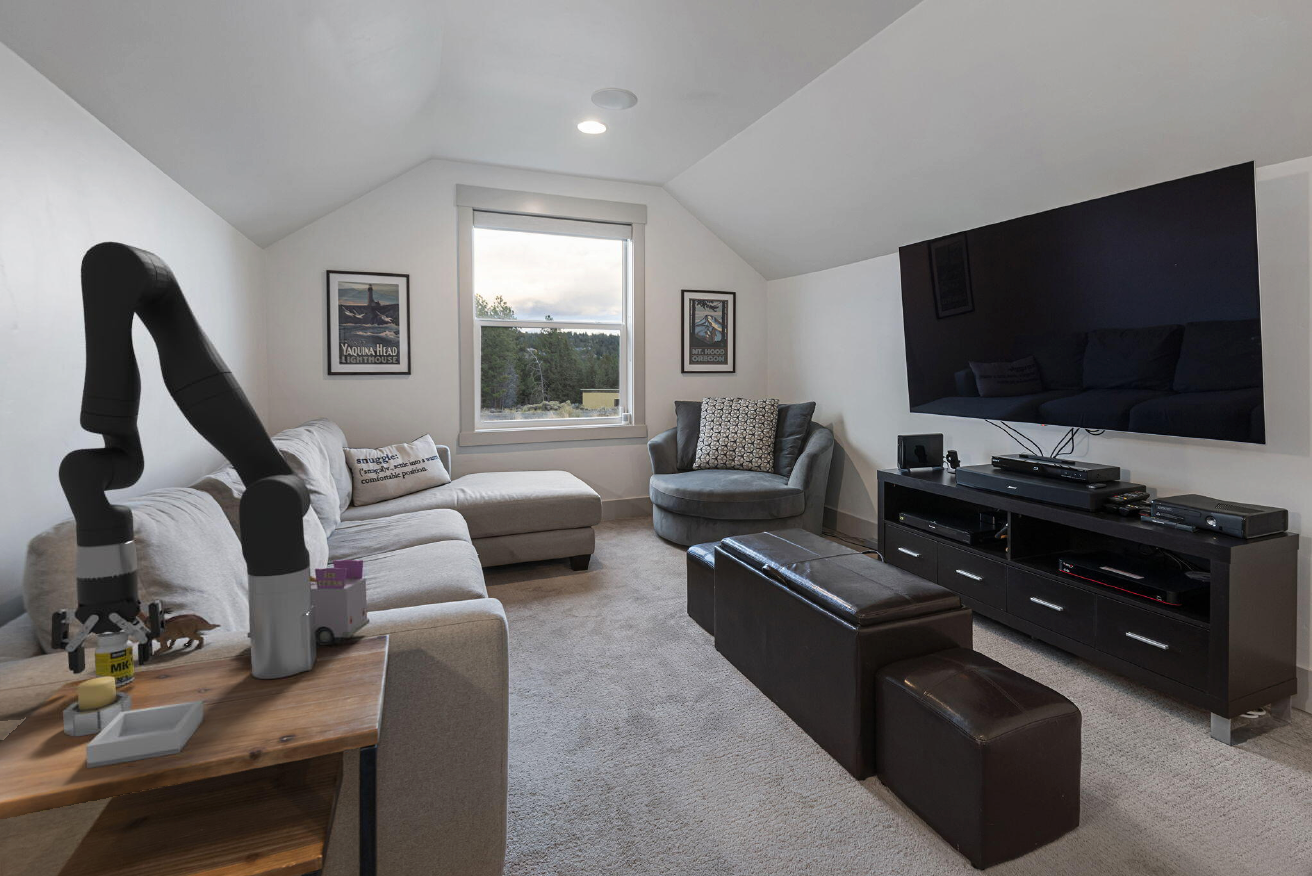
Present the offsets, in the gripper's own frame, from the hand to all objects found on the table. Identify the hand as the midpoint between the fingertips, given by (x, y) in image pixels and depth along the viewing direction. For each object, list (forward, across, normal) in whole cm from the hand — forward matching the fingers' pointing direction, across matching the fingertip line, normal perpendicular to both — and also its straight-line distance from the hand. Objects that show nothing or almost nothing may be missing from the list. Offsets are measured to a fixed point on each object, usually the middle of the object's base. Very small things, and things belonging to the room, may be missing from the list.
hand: (111, 668), depth 104 cm
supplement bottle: (+3, 0, 0) cm, 3 cm away
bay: (+3, -13, +25) cm, 28 cm away
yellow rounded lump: (0, -4, +16) cm, 16 cm away
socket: (+3, -4, +16) cm, 17 cm away
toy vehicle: (+3, -27, -10) cm, 29 cm away
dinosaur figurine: (+3, -5, -14) cm, 15 cm away
